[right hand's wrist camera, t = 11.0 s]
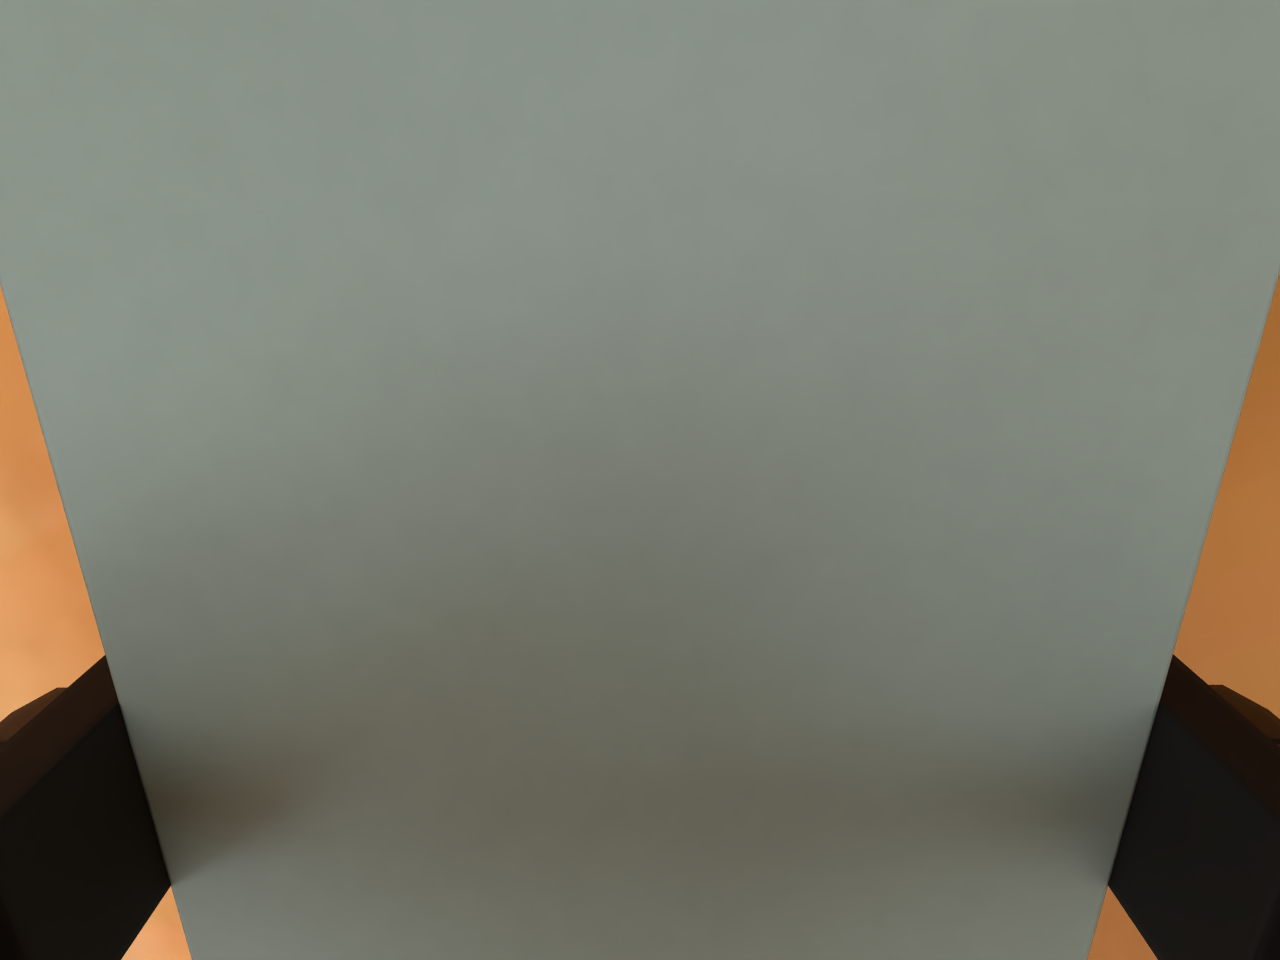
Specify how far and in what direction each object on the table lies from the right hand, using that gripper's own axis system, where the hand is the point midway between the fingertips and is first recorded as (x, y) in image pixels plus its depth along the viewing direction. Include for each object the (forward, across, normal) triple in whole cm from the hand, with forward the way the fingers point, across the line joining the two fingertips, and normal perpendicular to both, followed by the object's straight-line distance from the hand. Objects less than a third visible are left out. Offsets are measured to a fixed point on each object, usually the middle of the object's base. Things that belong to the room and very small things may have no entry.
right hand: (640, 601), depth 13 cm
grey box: (+6, 0, -2) cm, 7 cm away
